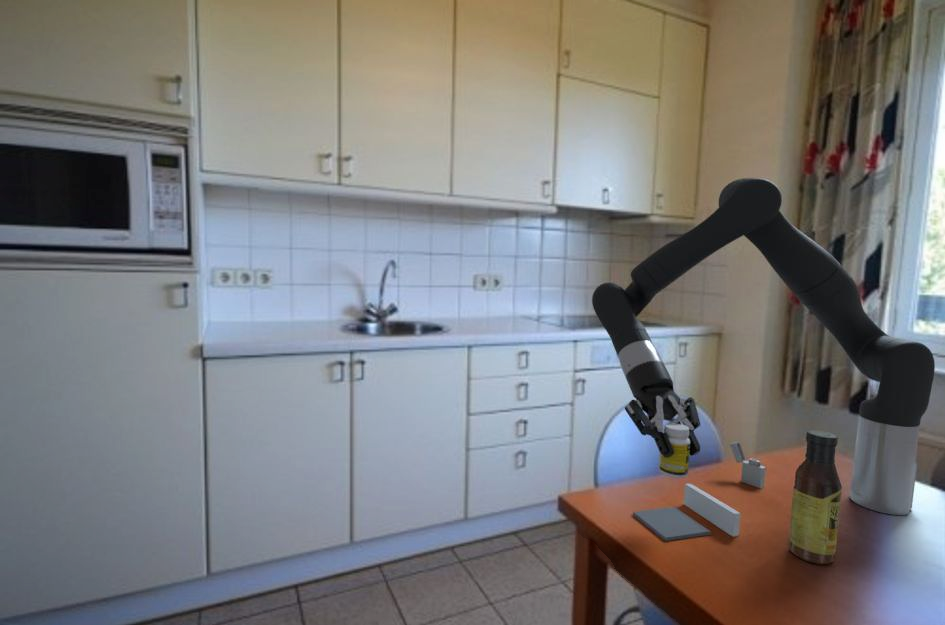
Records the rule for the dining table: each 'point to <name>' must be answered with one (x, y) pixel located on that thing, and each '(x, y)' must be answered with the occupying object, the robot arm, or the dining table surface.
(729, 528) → the wall
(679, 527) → the coaster
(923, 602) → the dining table surface
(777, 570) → the dining table surface
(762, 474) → the lighter
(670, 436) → the supplement bottle
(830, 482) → the sauce bottle
